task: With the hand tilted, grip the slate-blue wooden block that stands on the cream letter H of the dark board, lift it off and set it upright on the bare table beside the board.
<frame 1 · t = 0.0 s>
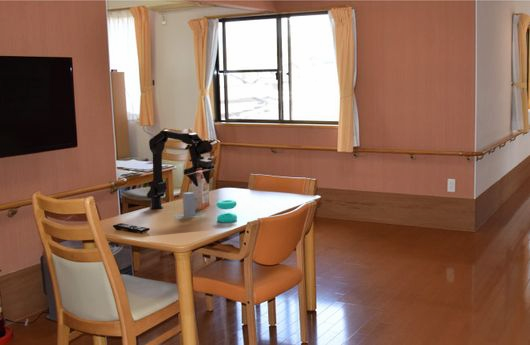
hand: (202, 185, 338), 15 cm above the table, tool pointing down, fingers open, 9 cm apart
cracker box: (201, 207, 358), on the table
blue block: (189, 215, 335), resting on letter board
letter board: (189, 216, 335), on the table
donuts: (227, 221, 322), on the table
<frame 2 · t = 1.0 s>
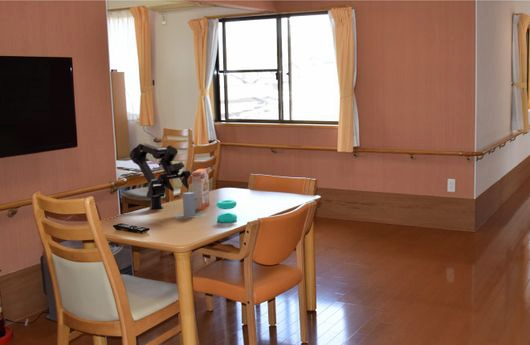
hand: (180, 189, 339), 13 cm above the table, tool tilted 45°, fingers open, 9 cm apart
nothing on the table moved.
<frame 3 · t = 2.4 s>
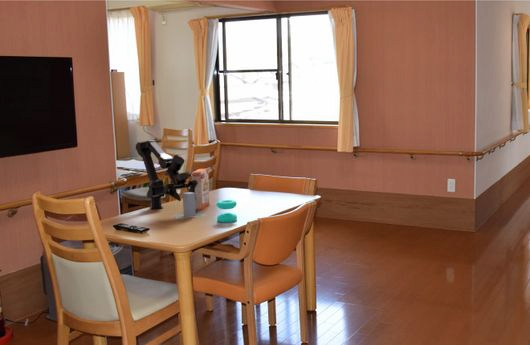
hand: (187, 199, 334), 9 cm above the table, tool tilted 45°, fingers open, 9 cm apart
nothing on the table moved.
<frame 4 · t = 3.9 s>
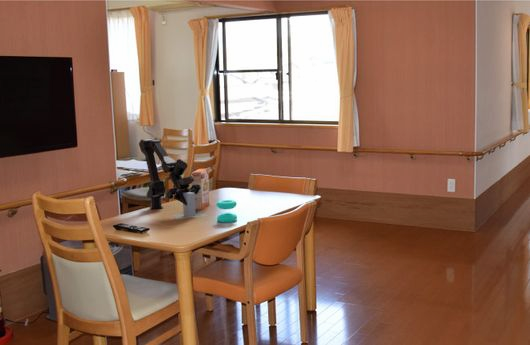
hand: (190, 204, 333), 7 cm above the table, tool tilted 45°, fingers closed on blue block, 4 cm apart
blue block: (189, 215, 335), resting on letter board, touching gripper
everything else where it was.
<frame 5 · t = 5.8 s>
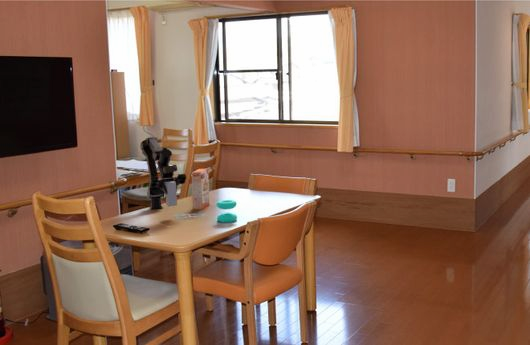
hand: (171, 193, 328), 13 cm above the table, tool tilted 45°, fingers closed on blue block, 4 cm apart
blue block: (171, 205, 330), point 7 cm above the table, touching gripper
everything else where it was.
when the fingers open (8 cm above the table, at t = 8.0 s): blue block drops 1 cm, on the table.
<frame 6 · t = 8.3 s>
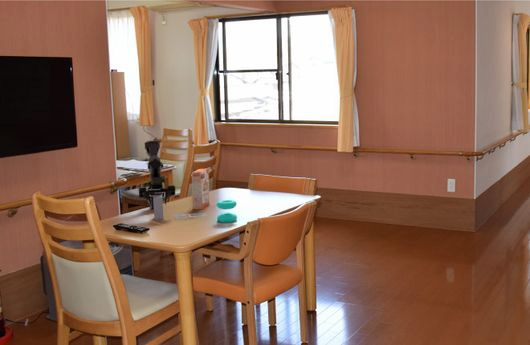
hand: (158, 204, 328), 8 cm above the table, tool tilted 45°, fingers open, 7 cm apart
blue block: (159, 219, 331), on the table
everything else where it was.
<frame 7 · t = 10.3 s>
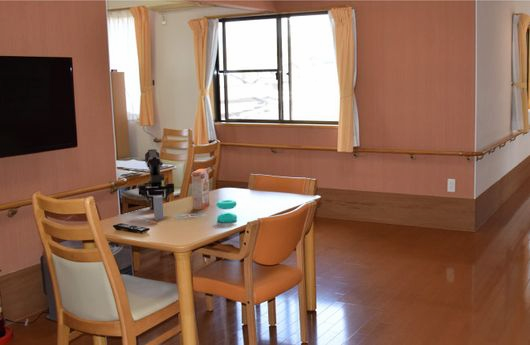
hand: (157, 202, 336), 8 cm above the table, tool tilted 45°, fingers open, 9 cm apart
nothing on the table moved.
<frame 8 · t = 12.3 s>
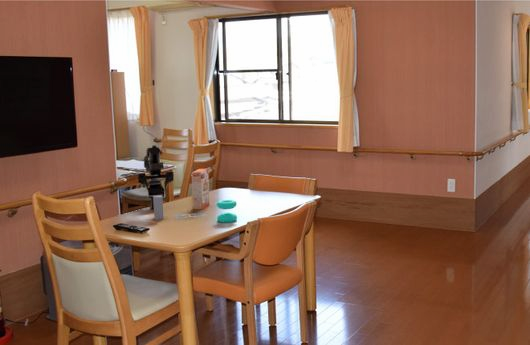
hand: (156, 189, 339), 14 cm above the table, tool tilted 45°, fingers open, 9 cm apart
nothing on the table moved.
at the end: blue block inside the target area (0.5 cm from its centre), on the table; blue block tilted 0°; blue block touching table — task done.
